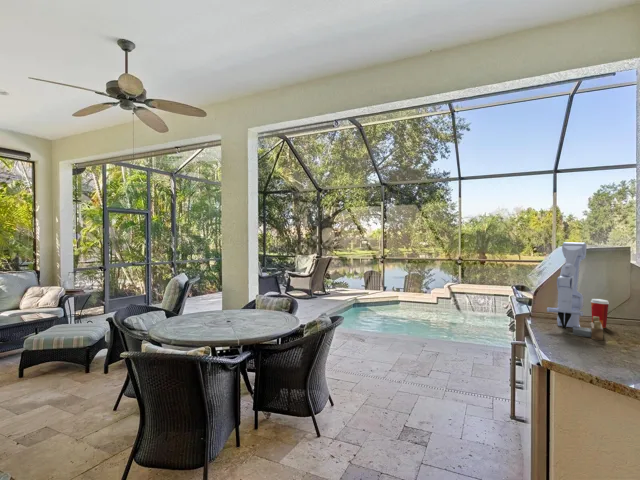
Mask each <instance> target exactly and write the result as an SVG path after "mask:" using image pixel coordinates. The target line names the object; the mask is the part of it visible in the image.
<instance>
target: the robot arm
mask: <svg viewBox="0 0 640 480" xmlns="http://www.w3.org/2000/svg"><path fill="white" fill-rule="evenodd" d="M561 248H562V249H561V251H562V254H563V257H564V258H565V261H564V263H565V264H563V265H562V266H561V270H560V273H559V276H557V279H556V290H557V307H547V308H546V312H547V313H556V314H557V317H556V318H557V319H556V322H557V326H559V327H561V329H563V330H566V328H567V327H568V328H571V329H573V326H575V327H581V325H580V317H583V316H584V311H582V309H584V303H585V302H584V295H583V294H582V293H581V292H580V291H578V287H579V277H580V266H581V262H582V261H583V260H585V259H586V257H587V243H586V242H585V241H584V242H576V241H575V242H569V241H564V242H563V243H562V247H561Z"/></svg>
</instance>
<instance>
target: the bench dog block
mask: <svg viewBox="0 0 640 480" xmlns="http://www.w3.org/2000/svg"><path fill="white" fill-rule="evenodd" d="M590 329H591V337H590V339H591V340H597V341H601V342H602V341H603V340H604V339H603V338H604V328H602V324H601V322H599V317H596V316H593V322H592V321H590Z"/></svg>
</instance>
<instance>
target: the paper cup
mask: <svg viewBox="0 0 640 480" xmlns="http://www.w3.org/2000/svg"><path fill="white" fill-rule="evenodd" d="M590 305H591V306H590V307H591V322H593V316H596V317H599V322H601V324H602V328H603V329H607V322H608V315H609V314H608V311H609V305H610V303H609V300H607V299H602V298H591V300H590Z"/></svg>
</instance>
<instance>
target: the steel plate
mask: <svg viewBox="0 0 640 480" xmlns="http://www.w3.org/2000/svg"><path fill="white" fill-rule="evenodd" d="M572 335H573V336H578V337H584V338H591V327H590V328H588V327H583V326H582V327H581V326H580V327H575V326H573V328H572Z"/></svg>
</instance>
